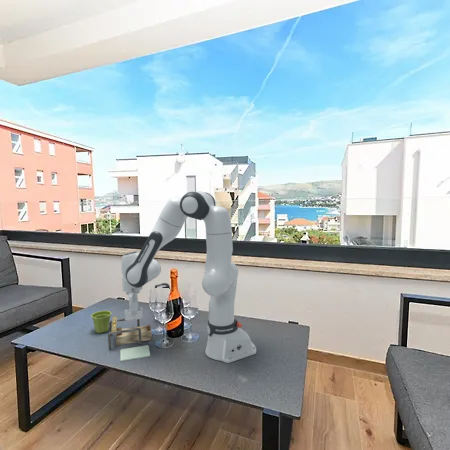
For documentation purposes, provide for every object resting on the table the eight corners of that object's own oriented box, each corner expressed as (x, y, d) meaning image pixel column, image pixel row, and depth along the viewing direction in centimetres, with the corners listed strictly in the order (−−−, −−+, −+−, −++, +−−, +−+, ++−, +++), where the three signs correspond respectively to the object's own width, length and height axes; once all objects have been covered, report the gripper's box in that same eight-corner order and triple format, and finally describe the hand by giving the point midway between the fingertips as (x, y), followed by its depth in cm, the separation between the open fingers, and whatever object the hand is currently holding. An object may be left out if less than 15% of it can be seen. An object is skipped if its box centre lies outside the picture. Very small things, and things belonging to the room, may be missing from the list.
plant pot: (98, 326, 152) (97, 310, 152) (115, 326, 152) (114, 310, 151) (88, 334, 143) (87, 317, 142) (106, 335, 142) (105, 318, 141)
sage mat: (148, 346, 132) (148, 345, 132) (150, 356, 124) (150, 355, 124) (120, 350, 128) (120, 349, 128) (120, 361, 120) (120, 360, 120)
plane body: (149, 329, 148) (149, 315, 148) (152, 342, 135) (151, 326, 134) (110, 335, 142) (109, 320, 141) (108, 349, 129) (107, 333, 128)
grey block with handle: (142, 315, 141) (142, 306, 141) (143, 318, 137) (142, 309, 137) (125, 317, 139) (124, 308, 138) (125, 321, 135) (124, 311, 134)
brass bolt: (117, 318, 143) (116, 314, 143) (116, 332, 129) (116, 327, 129) (112, 319, 142) (112, 314, 142) (111, 332, 128) (111, 327, 128)
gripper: (140, 291, 128) (142, 321, 129) (138, 279, 147) (139, 305, 148) (125, 293, 126) (127, 324, 127) (125, 281, 145) (126, 307, 146)
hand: (133, 314), depth 138 cm, fingers closed on grey block with handle, 4 cm apart
